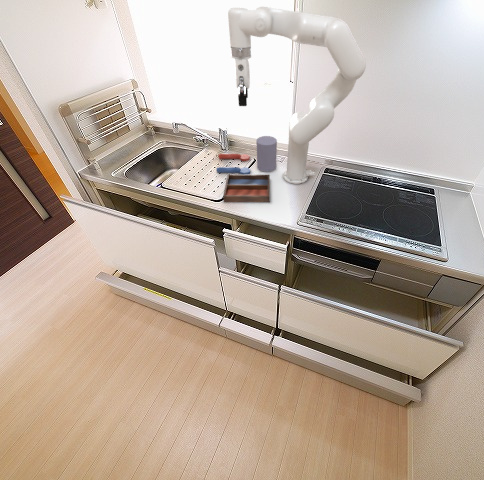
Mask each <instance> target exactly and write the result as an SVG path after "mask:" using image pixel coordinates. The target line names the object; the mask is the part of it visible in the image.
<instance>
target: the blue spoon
mask: <svg viewBox="0 0 484 480" xmlns="http://www.w3.org/2000/svg"><path fill="white" fill-rule="evenodd" d="M216 172H217V173H218V174H243V175H251V168H249V167H238V166H237V167H236V166H235V167H233V166H232V167H231V166H230V167H229V166H218V167H216Z"/></svg>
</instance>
